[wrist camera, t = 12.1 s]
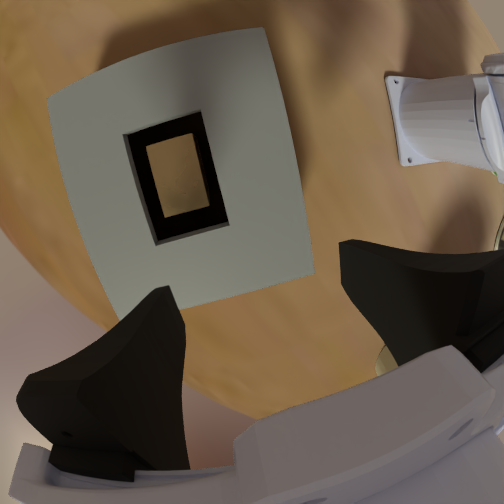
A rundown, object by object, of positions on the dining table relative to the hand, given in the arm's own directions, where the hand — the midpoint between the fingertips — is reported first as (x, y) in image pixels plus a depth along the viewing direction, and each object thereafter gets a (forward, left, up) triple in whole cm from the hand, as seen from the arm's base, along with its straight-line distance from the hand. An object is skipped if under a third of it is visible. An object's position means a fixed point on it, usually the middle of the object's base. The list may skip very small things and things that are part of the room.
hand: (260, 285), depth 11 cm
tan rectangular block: (+3, -5, -10) cm, 11 cm away
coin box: (+3, -5, -10) cm, 11 cm away
